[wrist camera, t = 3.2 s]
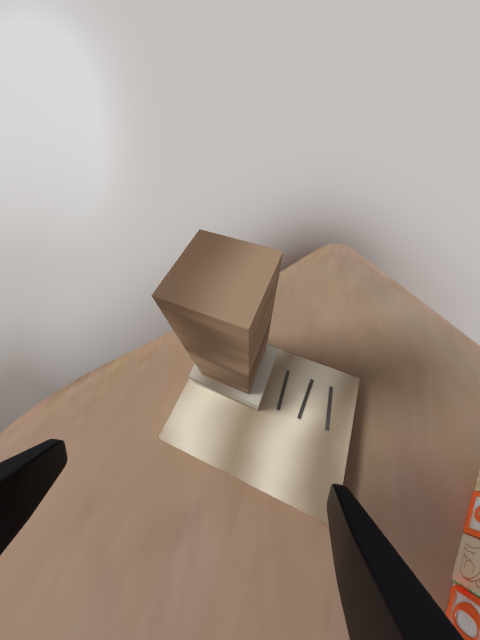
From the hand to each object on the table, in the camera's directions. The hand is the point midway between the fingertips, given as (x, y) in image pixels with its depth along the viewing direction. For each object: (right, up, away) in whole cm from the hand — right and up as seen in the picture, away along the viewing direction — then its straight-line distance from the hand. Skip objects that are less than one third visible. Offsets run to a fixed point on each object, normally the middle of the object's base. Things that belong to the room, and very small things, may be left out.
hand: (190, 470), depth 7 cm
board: (+4, -3, +13) cm, 14 cm away
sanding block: (+1, 0, +13) cm, 14 cm away
